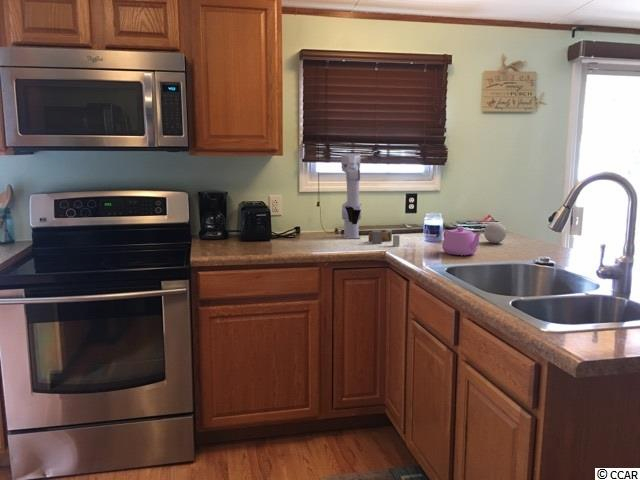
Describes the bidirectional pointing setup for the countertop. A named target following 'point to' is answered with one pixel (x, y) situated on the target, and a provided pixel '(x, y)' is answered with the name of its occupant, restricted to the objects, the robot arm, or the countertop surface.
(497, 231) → the ball
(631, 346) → the countertop surface
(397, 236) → the stop wall
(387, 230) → the hinge post
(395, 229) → the countertop surface
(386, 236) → the door
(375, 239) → the block
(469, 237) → the teapot
